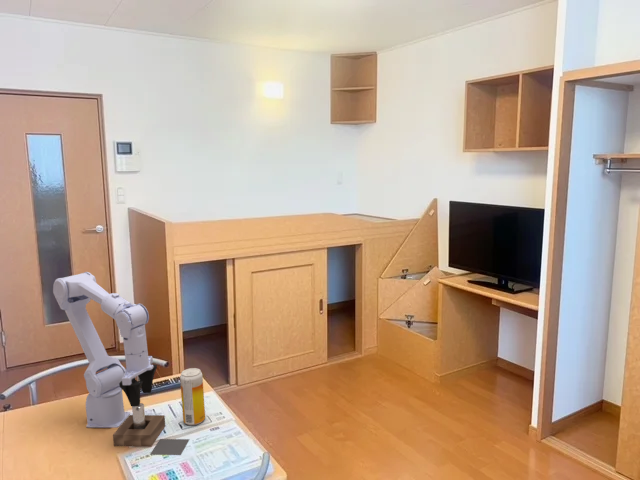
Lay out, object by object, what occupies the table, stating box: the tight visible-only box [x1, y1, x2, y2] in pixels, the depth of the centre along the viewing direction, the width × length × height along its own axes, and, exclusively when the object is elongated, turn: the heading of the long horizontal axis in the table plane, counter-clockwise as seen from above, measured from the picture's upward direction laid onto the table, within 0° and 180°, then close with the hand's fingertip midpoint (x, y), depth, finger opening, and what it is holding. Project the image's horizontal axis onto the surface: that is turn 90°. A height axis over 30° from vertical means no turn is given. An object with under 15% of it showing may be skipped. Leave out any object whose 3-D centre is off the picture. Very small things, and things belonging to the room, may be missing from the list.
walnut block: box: [112, 414, 166, 448], centre depth 134 cm, size 10×10×4 cm
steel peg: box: [131, 402, 146, 429], centre depth 133 cm, size 3×3×9 cm
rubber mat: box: [149, 438, 190, 456], centre depth 129 cm, size 8×7×1 cm
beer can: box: [179, 367, 206, 426], centre depth 140 cm, size 6×6×15 cm
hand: (141, 398), depth 134 cm, fingers open, 7 cm apart
